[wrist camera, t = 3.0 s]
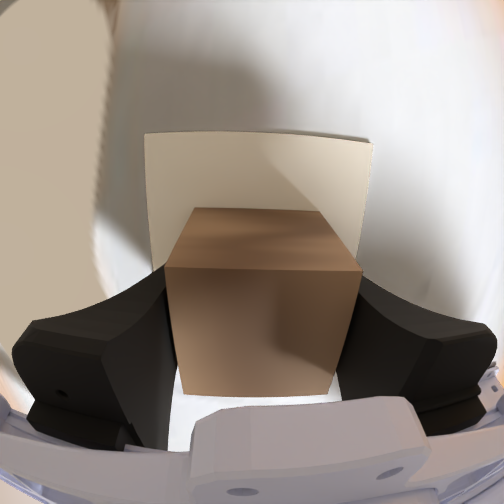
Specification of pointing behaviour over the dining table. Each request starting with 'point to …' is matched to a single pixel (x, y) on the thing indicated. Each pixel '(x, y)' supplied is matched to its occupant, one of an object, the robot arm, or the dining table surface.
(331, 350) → the block
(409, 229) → the dining table surface
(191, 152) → the label tile
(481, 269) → the dining table surface
